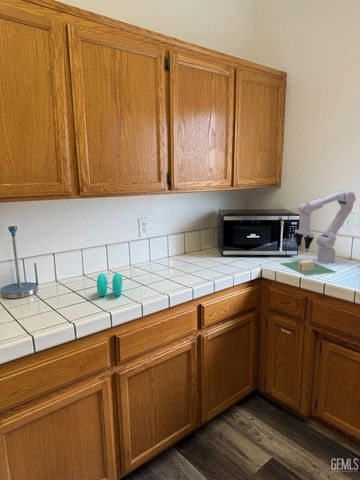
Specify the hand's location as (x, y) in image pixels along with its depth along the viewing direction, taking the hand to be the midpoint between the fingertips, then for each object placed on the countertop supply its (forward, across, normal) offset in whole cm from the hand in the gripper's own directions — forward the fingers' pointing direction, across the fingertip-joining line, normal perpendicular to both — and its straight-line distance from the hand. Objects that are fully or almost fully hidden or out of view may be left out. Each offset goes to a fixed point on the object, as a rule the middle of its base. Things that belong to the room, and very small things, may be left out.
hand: (302, 247), depth 198 cm
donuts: (+10, +18, -114) cm, 116 cm away
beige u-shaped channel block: (+9, +14, -8) cm, 19 cm away
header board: (+10, +10, -4) cm, 15 cm away
